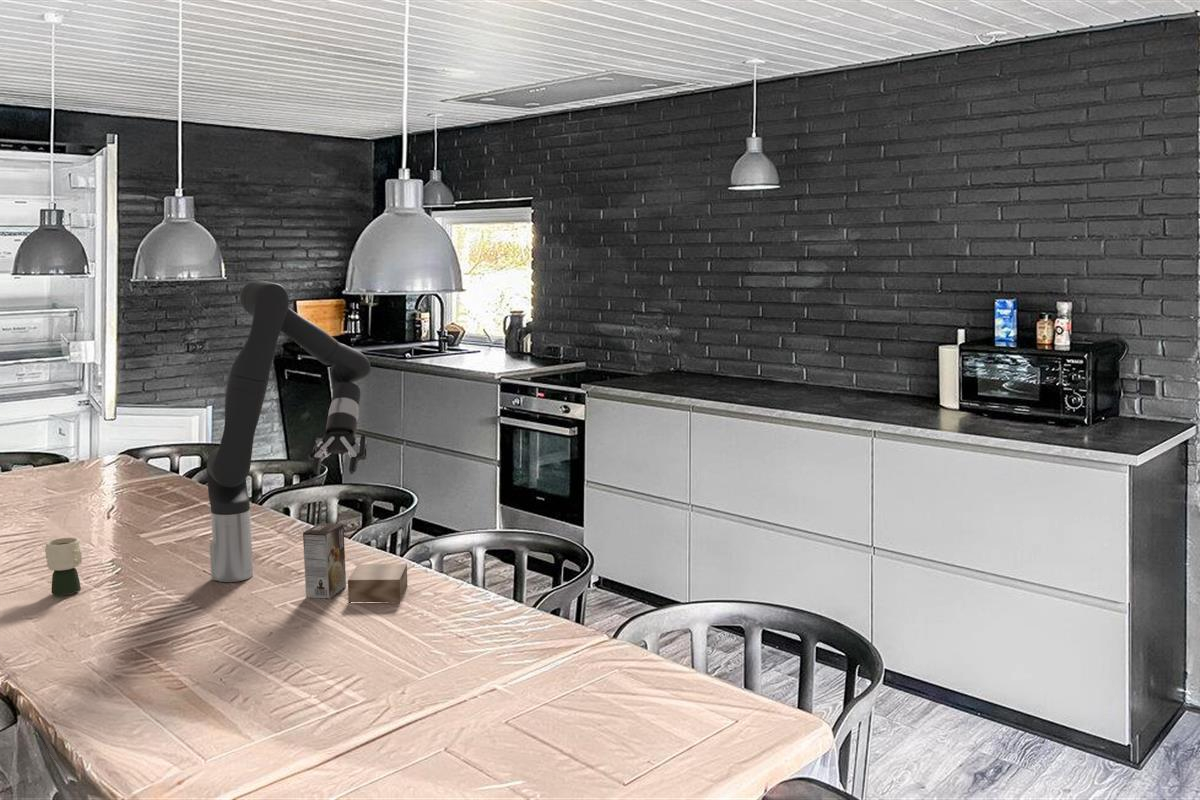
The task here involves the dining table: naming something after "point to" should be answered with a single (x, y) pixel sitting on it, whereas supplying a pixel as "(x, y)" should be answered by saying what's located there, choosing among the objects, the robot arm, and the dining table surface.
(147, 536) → the dining table surface
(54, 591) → the character mug
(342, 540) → the coffee box
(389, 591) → the walnut block
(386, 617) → the dining table surface
